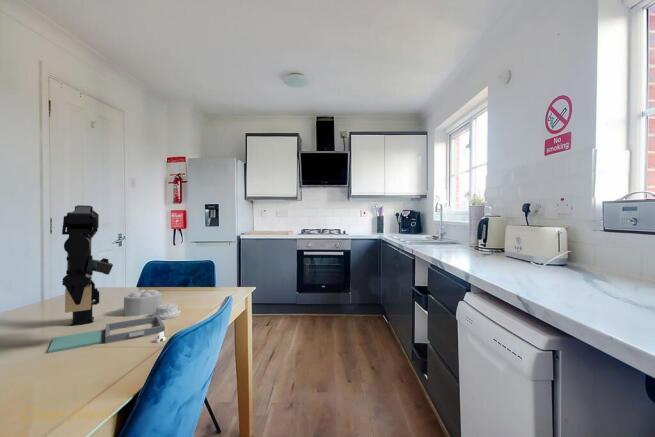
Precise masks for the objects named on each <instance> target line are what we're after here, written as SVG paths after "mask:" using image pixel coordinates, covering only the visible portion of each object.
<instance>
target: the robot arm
mask: <svg viewBox="0 0 655 437" xmlns="http://www.w3.org/2000/svg"><path fill="white" fill-rule="evenodd" d="M93 207H94V206H91V205H84V204H83V205H81V204H80V205H79V204H78V205H75V206H74V210H72V211H71V212H70V211H69V212H66V215H63V221H62V229H61V235H67V236H68V237H67V239H66V240H65V241H64V244H63V249H64V251H65V252H66V253H67V255H66V270H65V272H66V274H65V276H63V278H62V286H63V287H65V289H67V290H68V292H69V294H70V295H71V297H72V299H73V301H74V303H75V305H79V304H80V303H81V299H82V295H83V291H84V288H85V287H86V286H87V285H91V284H92V286H91V309H90V310H83V311H75V312H72V316H71V317H72V319H71V322H70V324H69V325H70V326H76V325H77V326H78V325H84V324H89V323H94V319H95V316H93V309H94V308H93V307H94V306H96V305H99V304H100V291H99V290H98V288H96V284H95V282H94V281H93V278H92V276H93V274H94V272H96V273H97V272H98V273H102V274H103V275H110V274H111V271H112V268H113V267H114V264H113V263H112V262H110V260H109V258H106V257H105V258H104V257H103V258H102V259H100V260H98V259H94V258H93V255H92V239H93V238H94V237H95V235H96V234H97V232H98V230H99V226H100V225H99V222H100V219H99V218H100V215H99V213H97V212H96V211H95V210H94V208H93Z"/></svg>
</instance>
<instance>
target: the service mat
mask: <svg viewBox="0 0 655 437" xmlns="http://www.w3.org/2000/svg"><path fill="white" fill-rule="evenodd" d="M102 336H103V329H98V330H91V331H86V332H80V333H74V334H73V333H72V334H69V335H68V334H67V335H62V336H55V337H53V339H52V341H51V344H50V346H49V348H48V350H47V353H48V354H50V353H54V352H55V353H56V352H60V351H61V352H62V351H65V350H66V351H67V350H72V349H76V348H81V347H87V346H92V345H98V344H102V339H103V337H102Z"/></svg>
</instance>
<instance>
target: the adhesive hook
mask: <svg viewBox="0 0 655 437" xmlns="http://www.w3.org/2000/svg"><path fill="white" fill-rule="evenodd" d="M165 340H166V337H165V332H160V333H157V334H156V337H154V339H153V343H160V342H161V341H163V342H164V341H165Z"/></svg>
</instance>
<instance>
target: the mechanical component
mask: <svg viewBox="0 0 655 437" xmlns="http://www.w3.org/2000/svg"><path fill="white" fill-rule="evenodd" d="M178 308H179V307H178V303H176V302H167V303H162V304H161V305H158V306H157V307H156V312H155V313H153V314H152V316H151V317H154V316H160V318H161V320H168V319H169V320H170V319H173V318H177V317H179V316H180V315H181V314H182V311H181V309H178Z"/></svg>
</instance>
